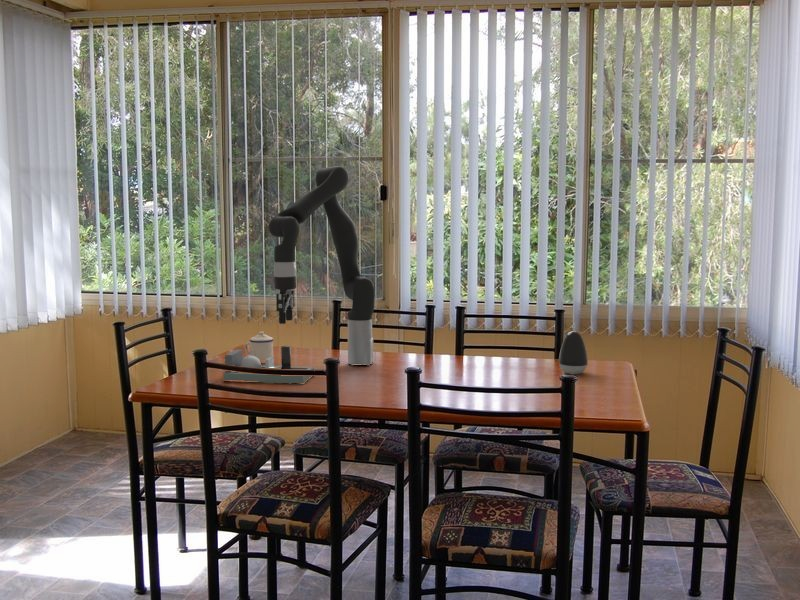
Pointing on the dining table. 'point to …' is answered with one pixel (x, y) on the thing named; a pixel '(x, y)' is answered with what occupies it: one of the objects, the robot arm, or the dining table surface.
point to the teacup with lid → (260, 346)
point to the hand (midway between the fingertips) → (286, 321)
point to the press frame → (236, 357)
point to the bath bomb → (250, 362)
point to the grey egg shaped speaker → (573, 354)
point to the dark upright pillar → (284, 359)
